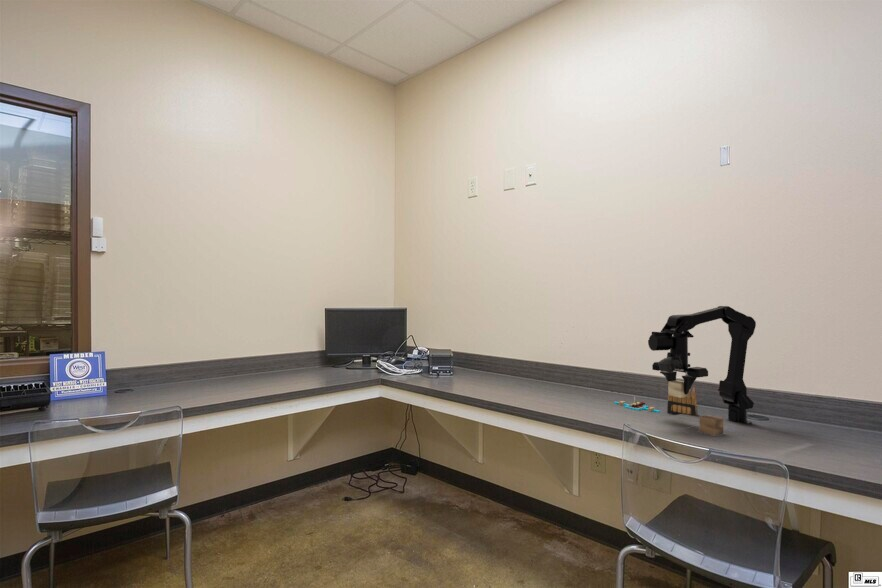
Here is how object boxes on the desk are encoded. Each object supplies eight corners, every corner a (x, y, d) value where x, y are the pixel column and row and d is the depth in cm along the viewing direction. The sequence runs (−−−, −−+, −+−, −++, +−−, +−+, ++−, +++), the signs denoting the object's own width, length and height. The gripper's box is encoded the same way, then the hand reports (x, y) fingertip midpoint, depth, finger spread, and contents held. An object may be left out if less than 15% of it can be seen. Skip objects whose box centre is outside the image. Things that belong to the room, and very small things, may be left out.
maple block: (677, 393, 168) (677, 380, 168) (690, 396, 163) (690, 382, 163) (668, 395, 166) (668, 381, 166) (680, 397, 161) (680, 383, 161)
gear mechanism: (622, 402, 202) (609, 405, 196) (621, 390, 202) (609, 393, 196) (666, 411, 186) (654, 415, 180) (666, 398, 186) (654, 402, 180)
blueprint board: (704, 426, 164) (703, 423, 164) (750, 438, 149) (750, 435, 149) (674, 432, 157) (674, 429, 157) (719, 446, 142) (719, 443, 142)
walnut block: (708, 429, 156) (708, 414, 156) (723, 433, 152) (723, 418, 152) (699, 431, 154) (699, 416, 154) (713, 435, 150) (713, 420, 150)
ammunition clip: (697, 417, 174) (697, 386, 174) (695, 418, 173) (695, 387, 173) (669, 412, 183) (668, 382, 183) (667, 413, 181) (666, 383, 181)
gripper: (641, 348, 169) (642, 390, 170) (687, 354, 153) (687, 400, 153) (662, 346, 174) (662, 387, 174) (709, 352, 157) (709, 397, 157)
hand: (679, 392), depth 165 cm, fingers closed on maple block, 5 cm apart
